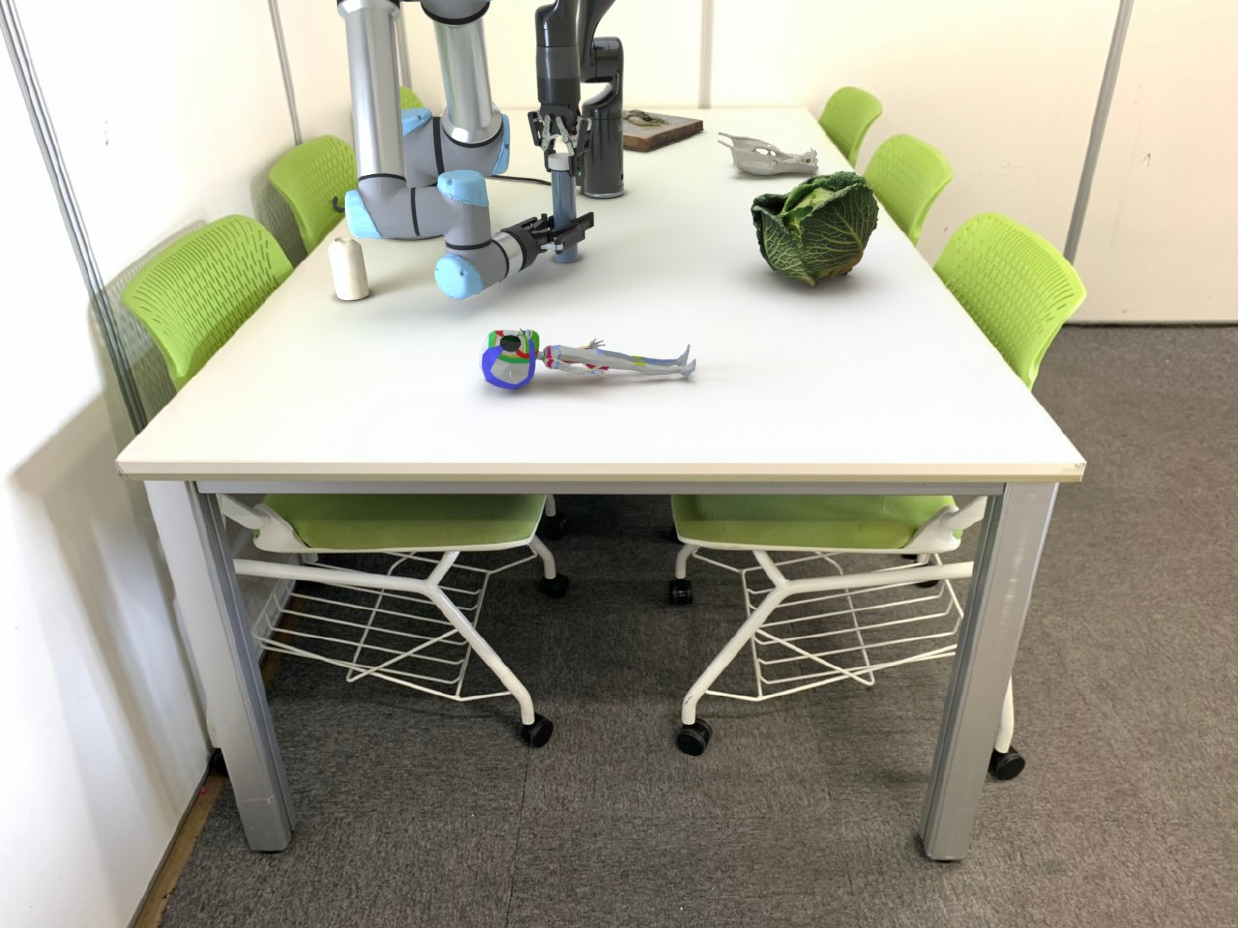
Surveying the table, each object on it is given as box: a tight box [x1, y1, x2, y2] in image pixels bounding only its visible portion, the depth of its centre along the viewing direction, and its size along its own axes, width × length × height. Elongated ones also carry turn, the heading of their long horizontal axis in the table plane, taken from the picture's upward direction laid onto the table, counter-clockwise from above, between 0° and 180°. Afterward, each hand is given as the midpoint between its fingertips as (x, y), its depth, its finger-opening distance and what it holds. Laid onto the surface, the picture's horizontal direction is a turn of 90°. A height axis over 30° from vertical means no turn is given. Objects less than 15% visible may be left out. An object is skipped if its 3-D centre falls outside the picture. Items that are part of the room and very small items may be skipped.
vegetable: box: [749, 170, 880, 287], centre depth 157 cm, size 20×19×20 cm
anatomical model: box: [716, 131, 820, 176], centre depth 220 cm, size 15×9×25 cm
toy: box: [478, 328, 697, 391], centre depth 127 cm, size 10×8×30 cm
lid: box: [548, 152, 570, 170], centre depth 162 cm, size 5×5×2 cm
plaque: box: [569, 108, 705, 152], centre depth 257 cm, size 30×7×30 cm
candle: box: [327, 236, 370, 301], centre depth 154 cm, size 6×6×10 cm
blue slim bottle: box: [550, 169, 579, 263], centre depth 167 cm, size 4×4×18 cm
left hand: (580, 217), depth 172 cm, fingers closed on blue slim bottle, 4 cm apart
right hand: (562, 173), depth 163 cm, fingers closed on lid, 5 cm apart
